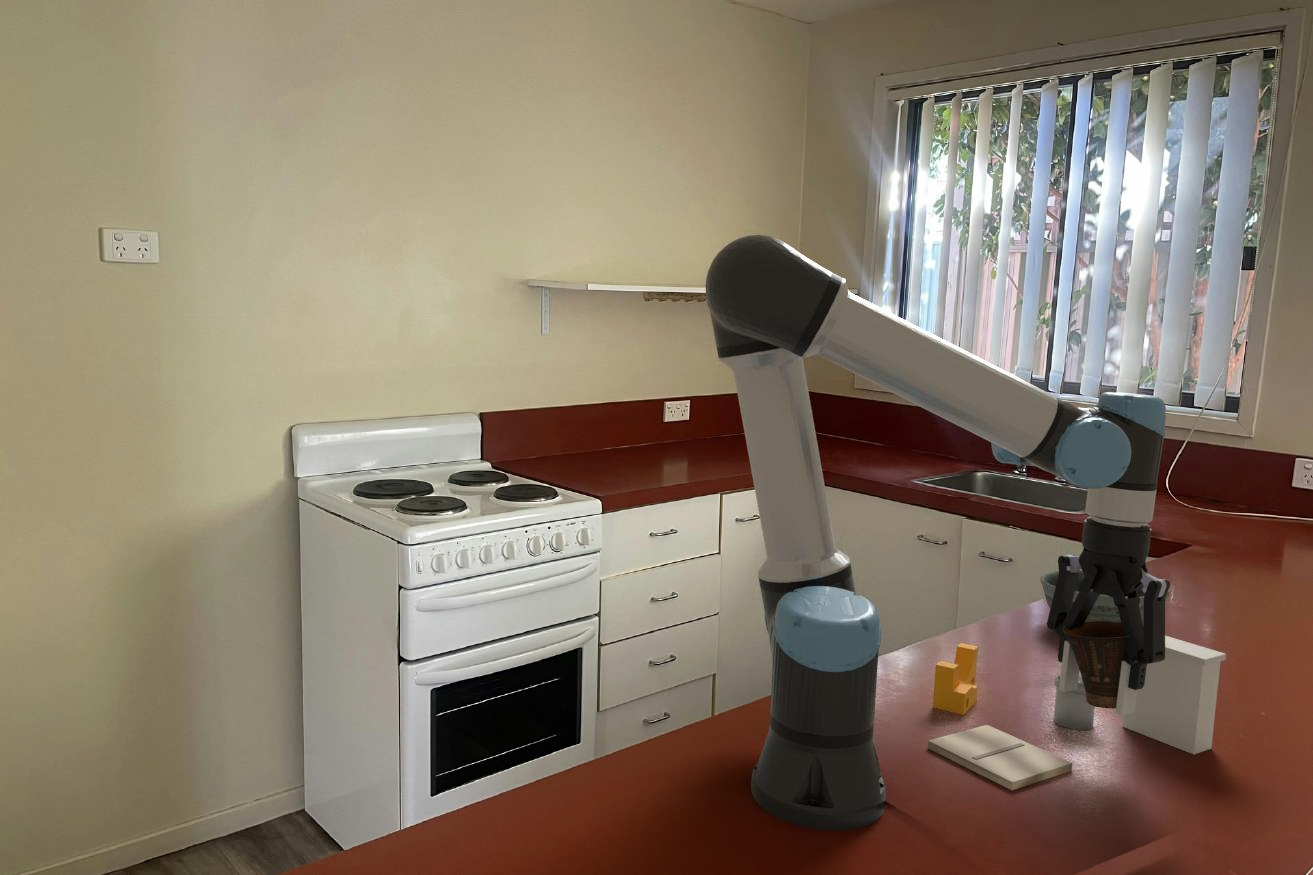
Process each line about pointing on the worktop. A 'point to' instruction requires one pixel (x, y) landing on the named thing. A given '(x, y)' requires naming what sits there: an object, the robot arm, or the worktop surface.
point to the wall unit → (1179, 697)
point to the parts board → (1000, 756)
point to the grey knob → (1073, 707)
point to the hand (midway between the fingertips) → (1095, 700)
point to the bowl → (1104, 603)
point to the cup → (1099, 659)
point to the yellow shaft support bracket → (957, 681)
